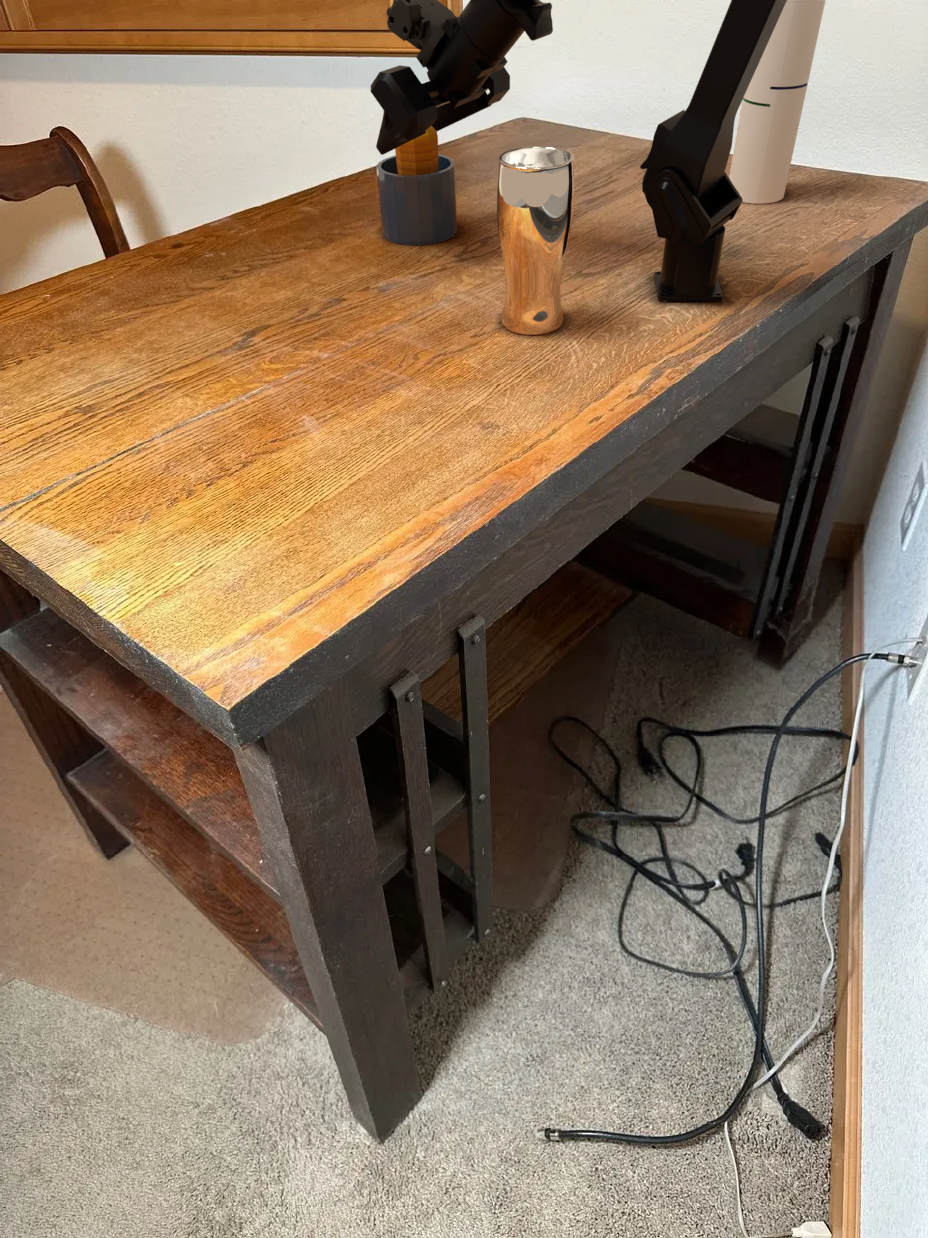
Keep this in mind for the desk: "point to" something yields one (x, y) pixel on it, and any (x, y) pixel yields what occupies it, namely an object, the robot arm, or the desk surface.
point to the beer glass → (534, 234)
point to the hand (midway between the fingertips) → (404, 140)
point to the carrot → (418, 155)
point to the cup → (417, 203)
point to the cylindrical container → (775, 105)
